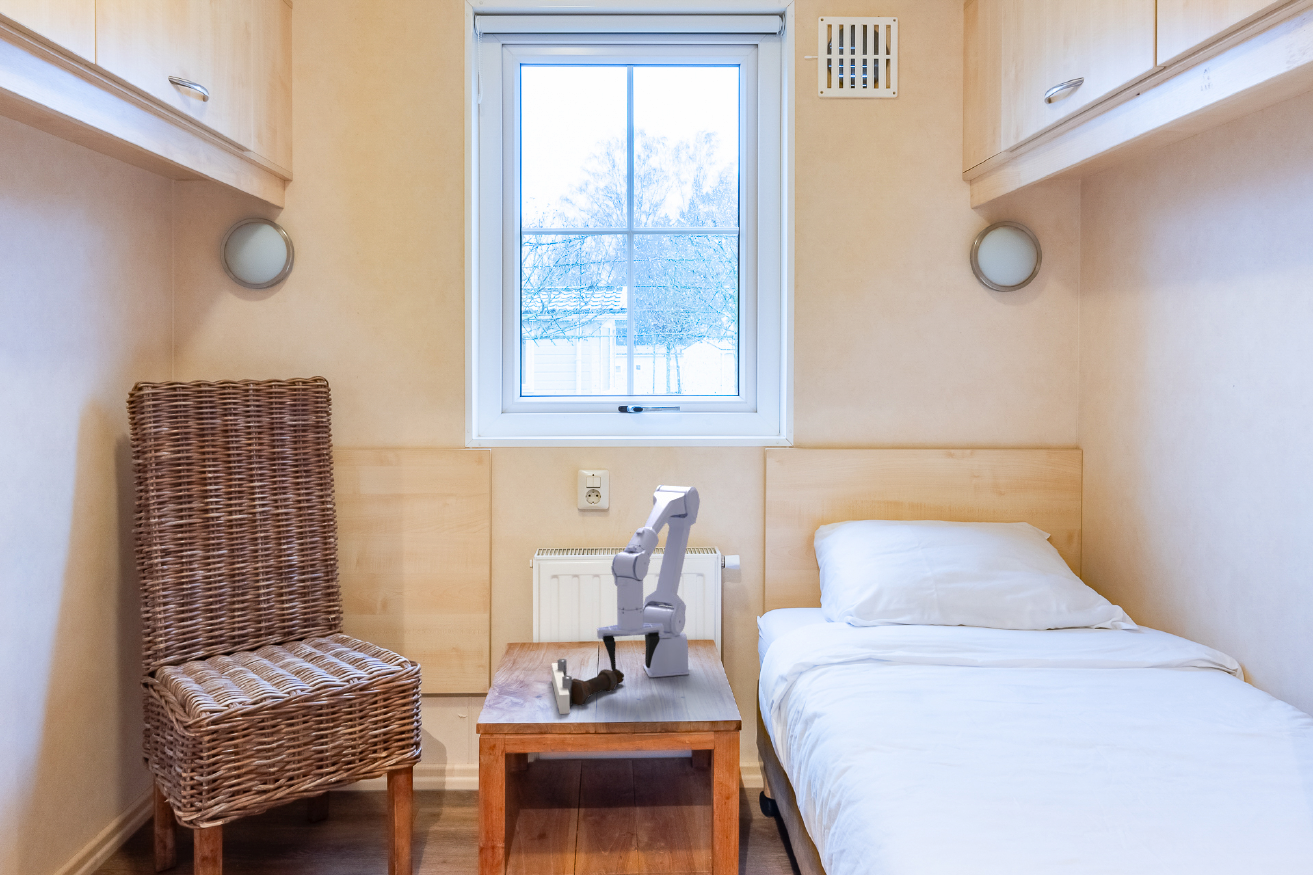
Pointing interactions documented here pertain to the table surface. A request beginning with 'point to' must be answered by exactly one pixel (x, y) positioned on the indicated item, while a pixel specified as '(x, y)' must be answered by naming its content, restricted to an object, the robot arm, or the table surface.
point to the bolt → (595, 685)
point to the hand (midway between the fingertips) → (630, 667)
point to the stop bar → (562, 686)
